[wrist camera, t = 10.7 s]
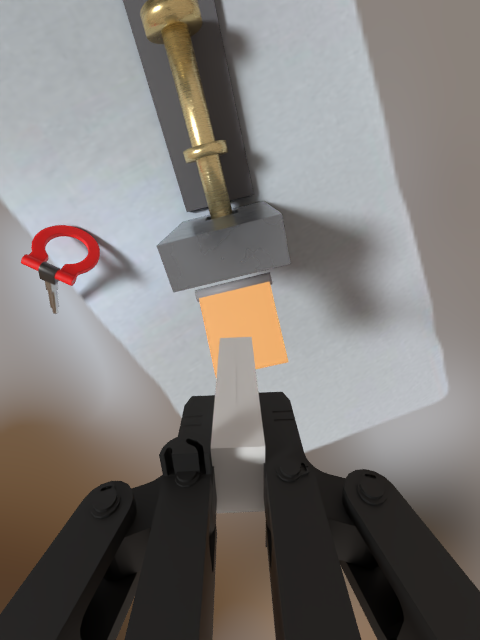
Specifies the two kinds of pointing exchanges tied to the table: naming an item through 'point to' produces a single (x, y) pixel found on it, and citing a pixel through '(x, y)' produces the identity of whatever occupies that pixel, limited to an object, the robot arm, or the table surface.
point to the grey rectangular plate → (224, 246)
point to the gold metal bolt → (190, 92)
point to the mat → (217, 101)
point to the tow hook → (68, 271)
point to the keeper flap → (243, 318)
